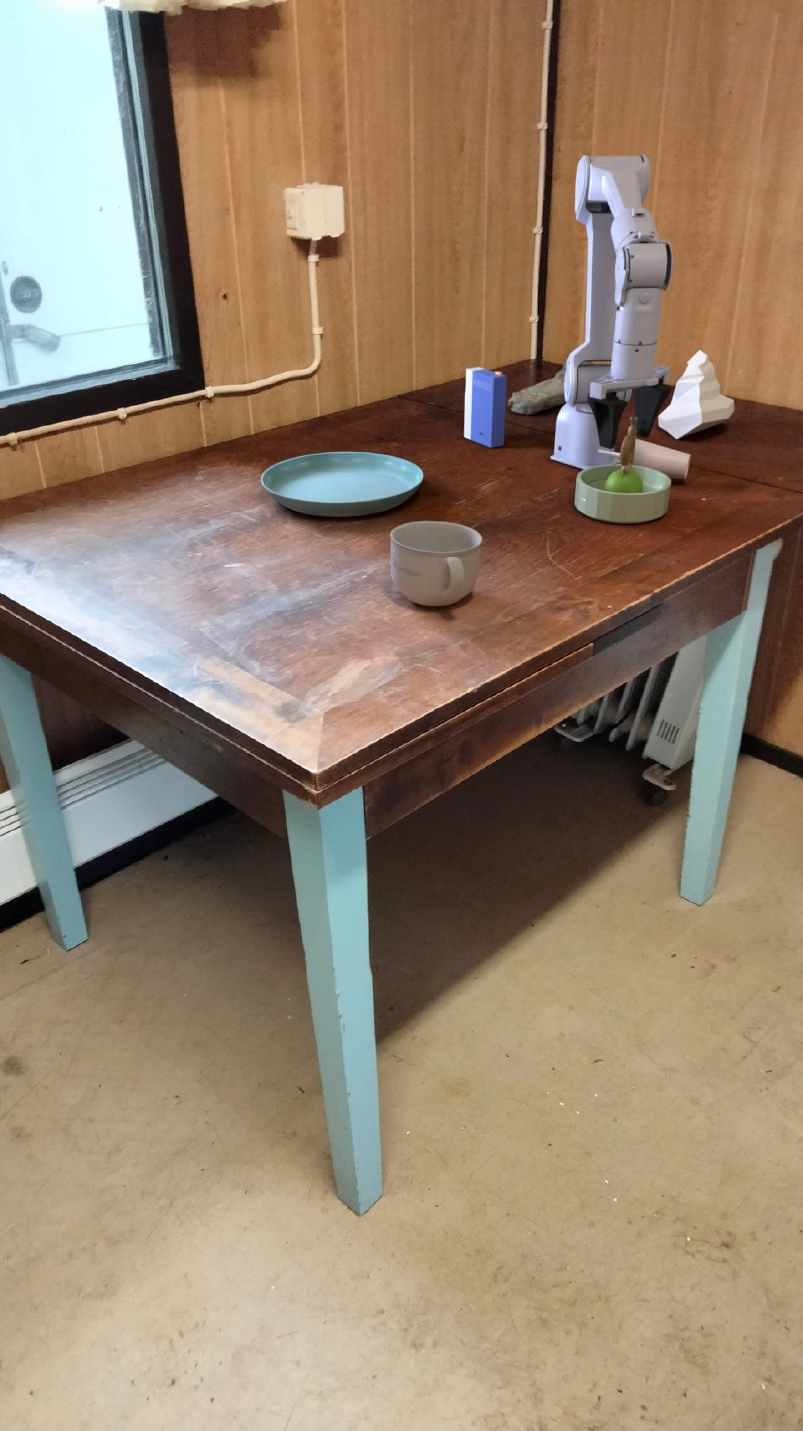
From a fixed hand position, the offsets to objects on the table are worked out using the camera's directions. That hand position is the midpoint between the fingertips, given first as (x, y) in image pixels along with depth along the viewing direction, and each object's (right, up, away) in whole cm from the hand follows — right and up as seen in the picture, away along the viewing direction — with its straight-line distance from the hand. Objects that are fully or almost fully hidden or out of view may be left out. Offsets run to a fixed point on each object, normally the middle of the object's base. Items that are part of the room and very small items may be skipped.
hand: (624, 441), depth 145 cm
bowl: (0, -9, +5) cm, 10 cm away
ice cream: (+20, +12, +38) cm, 44 cm away
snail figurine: (+1, -8, +5) cm, 9 cm away
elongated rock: (+1, +24, +59) cm, 63 cm away
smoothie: (+13, -1, +12) cm, 18 cm away
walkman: (-17, +9, +33) cm, 39 cm away
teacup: (-27, -25, -21) cm, 43 cm away
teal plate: (-40, -6, +10) cm, 42 cm away
